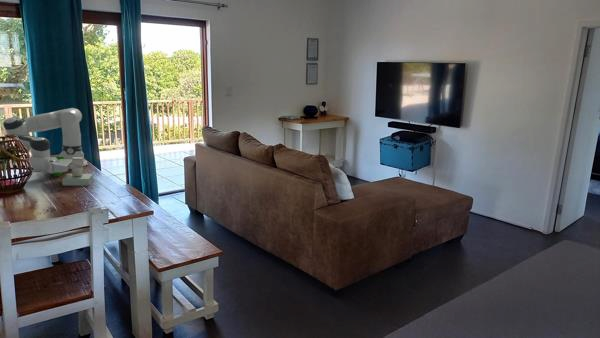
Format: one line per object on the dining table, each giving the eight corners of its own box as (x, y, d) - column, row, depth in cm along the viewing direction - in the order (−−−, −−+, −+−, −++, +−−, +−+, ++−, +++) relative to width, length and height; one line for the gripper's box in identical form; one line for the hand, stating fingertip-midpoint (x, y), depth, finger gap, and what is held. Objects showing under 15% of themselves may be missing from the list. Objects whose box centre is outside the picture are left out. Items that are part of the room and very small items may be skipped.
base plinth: (67, 179, 262) (67, 173, 262) (92, 180, 266) (92, 173, 266) (62, 185, 250) (62, 178, 249) (89, 185, 254) (88, 178, 254)
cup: (68, 174, 276) (68, 157, 274) (59, 177, 267) (59, 159, 265) (55, 172, 277) (54, 155, 275) (45, 175, 268) (45, 158, 266)
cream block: (73, 173, 259) (73, 157, 257) (83, 173, 260) (82, 157, 258) (72, 175, 254) (71, 158, 252) (81, 175, 256) (81, 159, 254)
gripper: (57, 166, 263) (82, 167, 267) (48, 174, 244) (75, 174, 248) (57, 156, 262) (82, 157, 266) (48, 163, 242) (75, 163, 246)
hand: (79, 165), depth 256 cm, fingers closed on cream block, 5 cm apart
